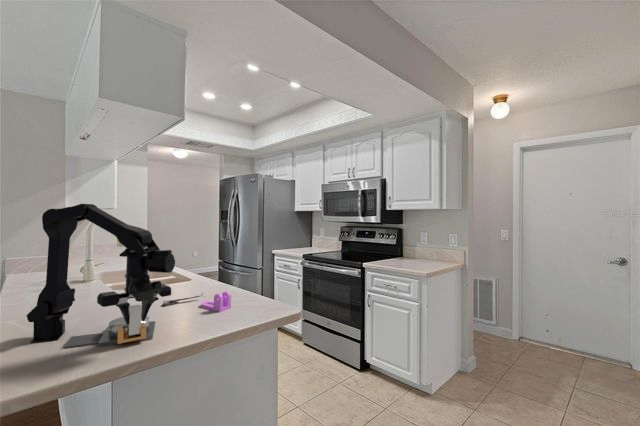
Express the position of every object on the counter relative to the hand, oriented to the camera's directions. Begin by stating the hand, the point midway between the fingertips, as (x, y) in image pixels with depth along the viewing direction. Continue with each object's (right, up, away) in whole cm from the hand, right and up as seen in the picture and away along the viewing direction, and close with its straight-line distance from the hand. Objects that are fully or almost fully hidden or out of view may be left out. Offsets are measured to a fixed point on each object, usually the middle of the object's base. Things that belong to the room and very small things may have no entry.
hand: (135, 322), depth 94 cm
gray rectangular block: (0, -3, -1) cm, 3 cm away
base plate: (-5, -5, +5) cm, 9 cm away
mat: (-15, -5, -1) cm, 16 cm away
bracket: (+12, -6, +34) cm, 37 cm away
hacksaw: (-4, -6, +45) cm, 46 cm away
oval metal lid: (-4, -4, +3) cm, 6 cm away
